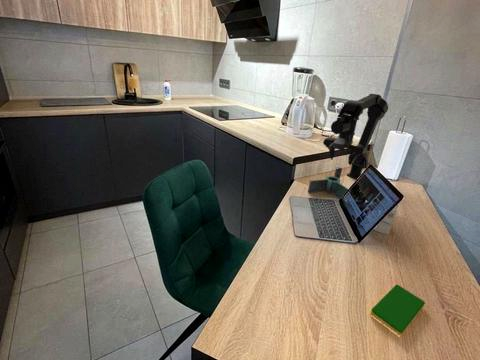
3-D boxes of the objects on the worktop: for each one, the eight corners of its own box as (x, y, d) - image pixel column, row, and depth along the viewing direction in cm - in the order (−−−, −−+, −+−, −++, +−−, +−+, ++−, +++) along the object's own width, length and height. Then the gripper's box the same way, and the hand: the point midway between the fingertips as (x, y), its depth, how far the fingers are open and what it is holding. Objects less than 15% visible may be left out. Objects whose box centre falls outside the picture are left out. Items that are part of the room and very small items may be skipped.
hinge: (321, 183, 130) (323, 172, 127) (354, 196, 120) (358, 184, 117) (307, 192, 121) (309, 180, 118) (342, 206, 110) (345, 194, 108)
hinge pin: (334, 181, 134) (337, 166, 130) (339, 183, 132) (343, 168, 129) (331, 182, 132) (335, 168, 128) (337, 184, 130) (340, 170, 127)
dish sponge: (368, 316, 64) (371, 309, 63) (394, 290, 72) (396, 283, 71) (398, 339, 59) (402, 332, 58) (422, 308, 67) (425, 302, 66)
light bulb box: (390, 226, 99) (399, 202, 94) (388, 235, 94) (398, 210, 89) (360, 217, 104) (367, 193, 99) (357, 225, 99) (365, 200, 94)
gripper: (320, 129, 118) (314, 161, 125) (362, 138, 107) (353, 173, 114) (331, 125, 126) (325, 155, 132) (371, 133, 114) (362, 166, 121)
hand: (340, 162), depth 125 cm, fingers open, 9 cm apart
